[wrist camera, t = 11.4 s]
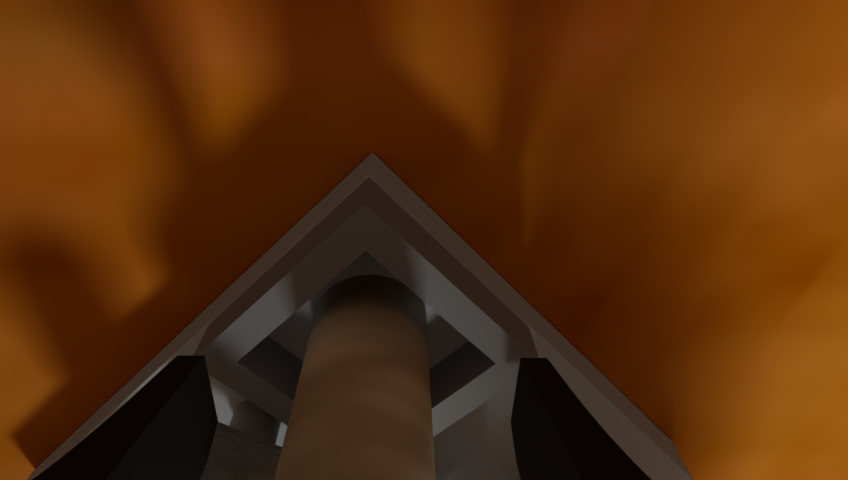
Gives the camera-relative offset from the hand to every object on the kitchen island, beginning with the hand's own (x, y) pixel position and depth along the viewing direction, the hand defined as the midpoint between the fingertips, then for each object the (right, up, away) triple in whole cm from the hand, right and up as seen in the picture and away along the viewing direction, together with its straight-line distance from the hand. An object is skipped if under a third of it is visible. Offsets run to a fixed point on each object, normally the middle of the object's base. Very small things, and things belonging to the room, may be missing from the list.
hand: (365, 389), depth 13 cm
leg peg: (0, +1, +2) cm, 2 cm away
